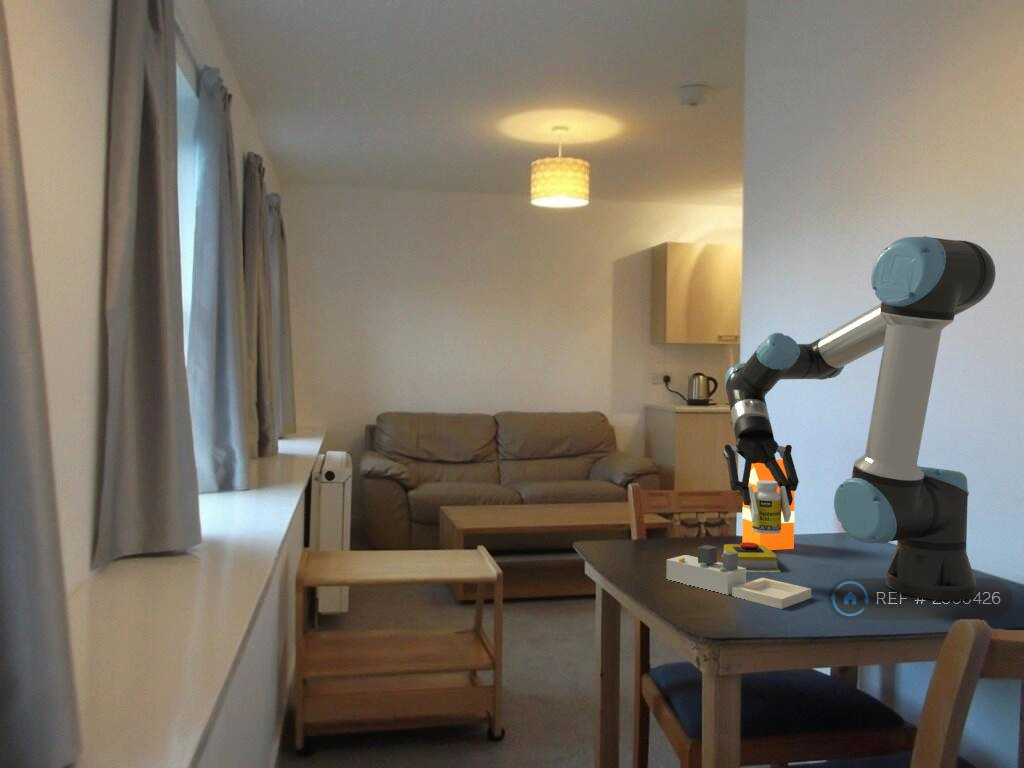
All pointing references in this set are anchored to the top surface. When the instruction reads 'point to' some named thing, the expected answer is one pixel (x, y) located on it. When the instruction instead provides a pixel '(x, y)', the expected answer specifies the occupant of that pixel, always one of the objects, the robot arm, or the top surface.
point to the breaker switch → (707, 554)
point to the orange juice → (787, 528)
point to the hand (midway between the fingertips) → (771, 517)
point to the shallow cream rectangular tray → (771, 593)
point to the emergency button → (754, 557)
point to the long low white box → (707, 573)
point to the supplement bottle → (767, 508)
